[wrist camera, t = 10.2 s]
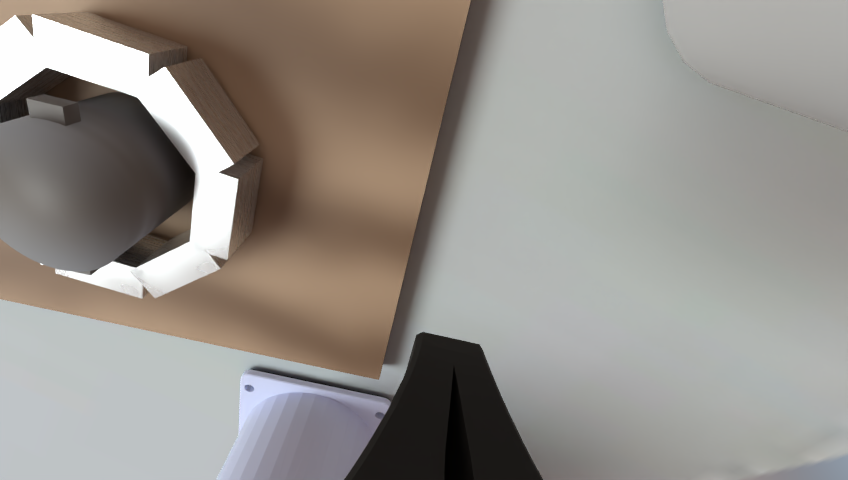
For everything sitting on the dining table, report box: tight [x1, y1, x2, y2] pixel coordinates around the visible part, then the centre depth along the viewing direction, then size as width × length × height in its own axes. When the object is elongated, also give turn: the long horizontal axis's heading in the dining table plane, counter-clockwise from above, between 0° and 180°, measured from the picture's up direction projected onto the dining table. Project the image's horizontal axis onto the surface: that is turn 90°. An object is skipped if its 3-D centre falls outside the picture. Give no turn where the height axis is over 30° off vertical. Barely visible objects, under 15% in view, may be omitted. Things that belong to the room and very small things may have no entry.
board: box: [0, 0, 471, 380], centre depth 16 cm, size 18×22×6 cm
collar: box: [0, 12, 263, 298], centre depth 16 cm, size 16×9×3 cm, turn 72°
